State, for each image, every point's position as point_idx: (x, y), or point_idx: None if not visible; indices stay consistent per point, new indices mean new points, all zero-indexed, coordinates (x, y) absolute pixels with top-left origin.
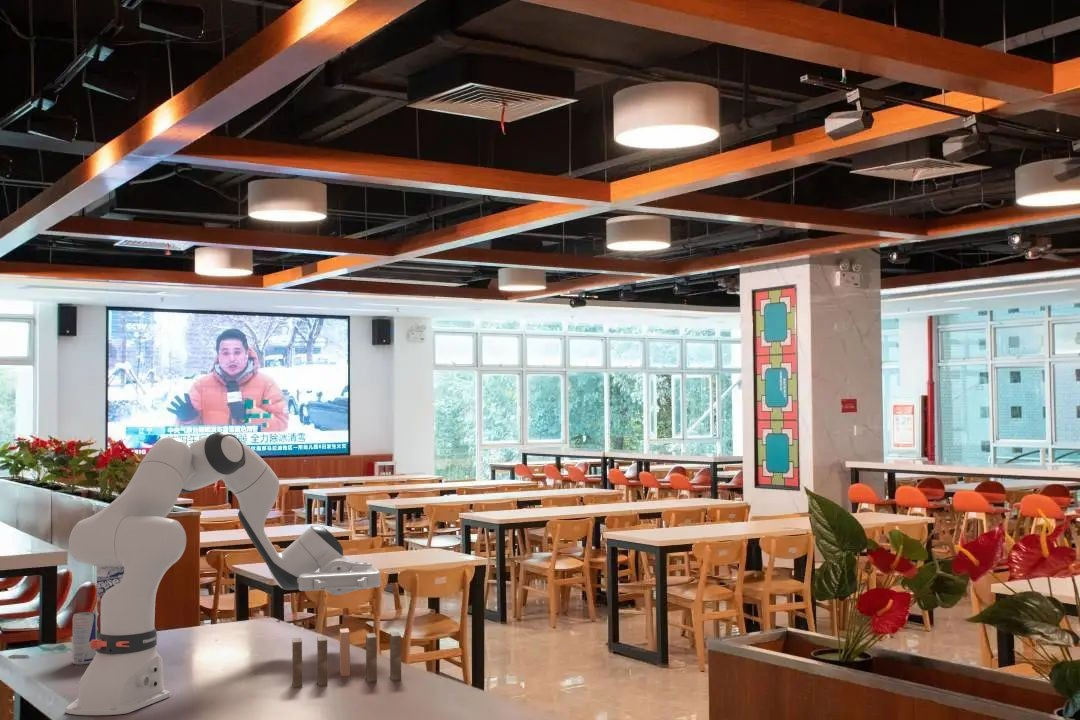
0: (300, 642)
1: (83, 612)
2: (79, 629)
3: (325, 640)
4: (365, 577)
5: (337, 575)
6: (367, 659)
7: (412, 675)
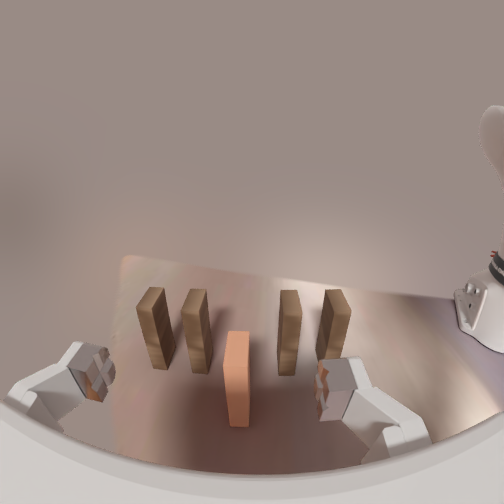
0: (327, 290)
1: None
2: None
3: (283, 290)
4: (26, 381)
5: (198, 472)
6: (208, 327)
7: (136, 361)
